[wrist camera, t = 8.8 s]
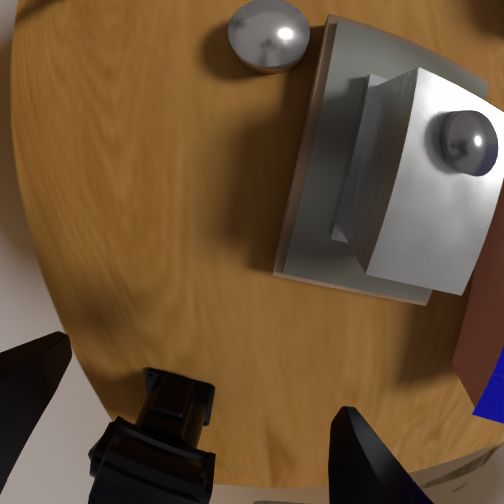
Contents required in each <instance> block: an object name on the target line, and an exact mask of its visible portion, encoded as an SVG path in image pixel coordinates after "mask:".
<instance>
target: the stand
mask: <svg viewBox="0 0 504 504" xmlns="http://www.w3.org/2000/svg"><path fill="white" fill-rule="evenodd" d="M418 67H420V68H422V69H425V70H427V71H429V72H431V73H433V74H435V75H437V76H439V77H441V78H443V79H445V80H447V81H449V82H451V83H453V84H455V85H457V86H459V87H461V88H462V89H464V90H466V91H468V92H470V93H471V94H473V95H475V96H477V97H478V98H480V99H482V100H483V101H485V102H486V101H487V93H488V82H487V81H486V80H484V79H483V78H481V77H479V76H478V75H476V74H474V73H473V72H471V71H469V70H468V69H466V68H464V67H462V66H460V65H459V64H457V63H455V62H453V61H451V60H449V59H447V58H445V57H443V56H441V55H439V54H437V53H435V52H433V51H431V50H429V49H427V48H425V47H423V46H420V45H418V44H416V43H413V42H411V41H409V40H406V39H404V38H401V37H399V36H396V35H394V34H391V33H389V32H386V31H383V30H380V29H378V28H375V27H372V26H369V25H366V24H363V23H359V22H356V21H353V20H349V19H346V18H342V17H339V16H335V15H331V14H329V15H328V18H327V20H326V23H325V25H324V30H323V35H322V41H321V46H320V51H319V56H318V61H317V66H316V71H315V76H314V81H313V86H312V91H311V96H310V101H309V106H308V110H307V115H306V120H305V125H304V129H303V134H302V139H301V143H300V148H299V153H298V157H297V162H296V166H295V171H294V175H293V180H292V184H291V189H290V193H289V197H288V202H287V206H286V211H285V215H284V219H283V224H282V228H281V232H280V236H279V241H278V245H277V249H276V253H275V257H274V262H273V273H272V276H276V277H281V278H286V279H291V280H296V281H300V282H305V283H310V284H315V285H320V286H325V287H330V288H335V289H340V290H345V291H350V292H355V293H360V294H365V295H370V296H376V297H381V298H386V299H391V300H396V301H402V302H407V303H412V304H418V305H423V306H426V304H427V302H428V300H429V298H430V296H431V294H432V291H433V289H429V288H425V287H420V286H416V285H411V284H407V283H402V282H398V281H393V280H389V279H384V278H380V277H375V276H371V275H366V274H365V273H364V271H363V269H362V267H361V265H360V263H359V262H358V260H357V258H356V256H355V254H354V252H353V251H352V249H351V247H350V245H349V244H348V243H345V242H341V241H337V240H332V239H330V236H329V234H328V231H329V228H330V224H331V221H332V217H333V214H334V210H335V206H336V203H337V199H338V195H339V191H340V188H341V184H342V180H343V176H344V172H345V168H346V164H347V160H348V156H349V151H350V147H351V143H352V139H353V134H354V130H355V125H356V121H357V116H358V111H359V106H360V102H361V97H362V92H363V87H364V81H365V77H366V76H367V75H369V74H370V73H371V74H374V75H377V76H379V77H382V78H385V79H388V80H390V79H393V78H395V77H397V76H399V75H402V74H404V73H406V72H408V71H411V70H413V69H415V68H418Z"/></svg>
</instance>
